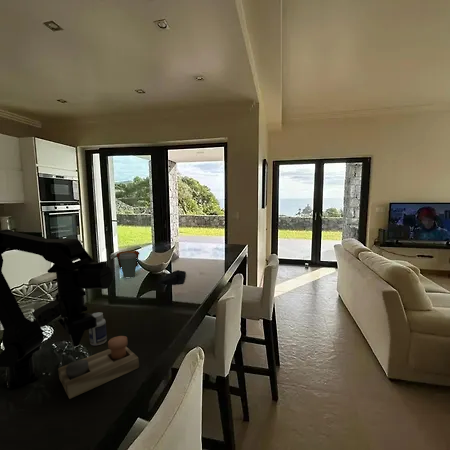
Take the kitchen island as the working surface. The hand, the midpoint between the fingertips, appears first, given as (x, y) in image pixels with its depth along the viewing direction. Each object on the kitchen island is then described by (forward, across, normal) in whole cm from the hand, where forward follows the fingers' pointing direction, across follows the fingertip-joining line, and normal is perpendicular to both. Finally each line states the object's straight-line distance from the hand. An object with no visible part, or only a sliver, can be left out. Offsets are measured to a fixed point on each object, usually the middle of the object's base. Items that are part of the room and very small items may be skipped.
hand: (76, 345), depth 74 cm
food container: (+10, -117, +63) cm, 133 cm away
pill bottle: (+10, -19, +11) cm, 24 cm away
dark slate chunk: (+11, -64, +68) cm, 94 cm away
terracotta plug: (+7, 0, +11) cm, 13 cm away
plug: (+10, 0, 0) cm, 10 cm away
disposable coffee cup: (+10, -90, +52) cm, 104 cm away
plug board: (+10, 0, +5) cm, 11 cm away
